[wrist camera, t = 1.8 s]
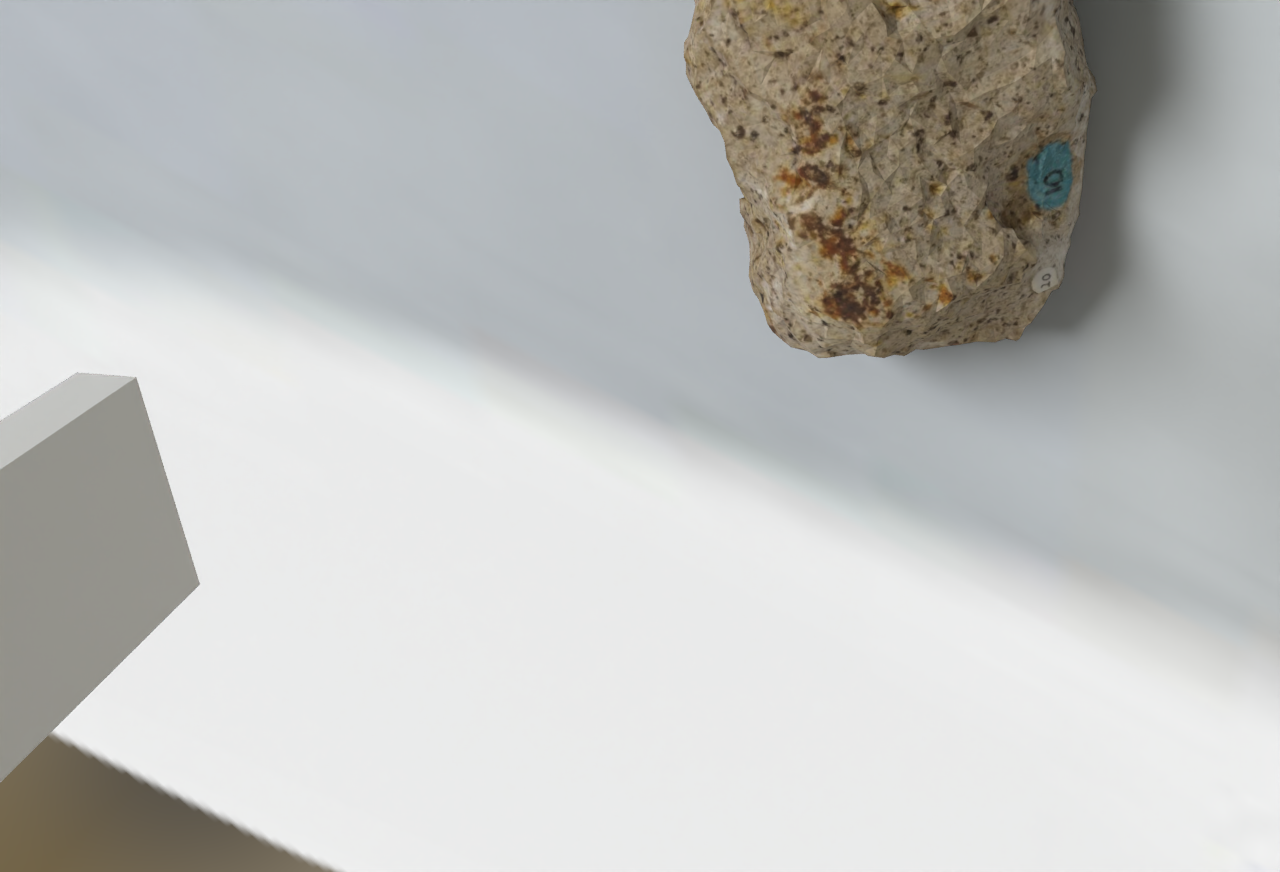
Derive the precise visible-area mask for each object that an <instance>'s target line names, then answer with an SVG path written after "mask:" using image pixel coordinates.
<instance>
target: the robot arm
mask: <svg viewBox="0 0 1280 872" xmlns="http://www.w3.org/2000/svg"><path fill="white" fill-rule="evenodd" d="M199 585H200V583H199V580H198V577H197V574H196V570H195V567H194V564H193V561H192V557H191V554H190V551H189V548H188V544H187V541H186V538H185V534H184V531H183V528H182V525H181V521H180V518H179V515H178V512H177V508H176V505H175V502H174V499H173V495H172V492H171V489H170V486H169V482H168V479H167V476H166V473H165V469H164V466H163V463H162V460H161V456H160V453H159V450H158V447H157V443H156V440H155V437H154V434H153V430H152V427H151V424H150V421H149V417H148V414H147V411H146V408H145V404H144V401H143V398H142V395H141V391H140V388H139V385H138V382H137V378H136V377H127V376H114V375H102V374H89V373H76V374H74V375H73V376H71V377H69V378H68V379H66V380H65V381H63V382H61V383H60V384H58V385H57V386H55V387H54V388H52V389H50V390H49V391H47V392H46V393H44V394H42V395H41V396H39V397H38V398H36V399H35V400H33V401H31V402H30V403H28V404H27V405H25V406H23V407H22V408H20V409H19V410H17V411H16V412H14V413H12V414H11V415H9V416H8V417H6V418H4V419H3V420H1V421H0V782H1V781H2V780H3V779H4V778H5V777H6V776H7V775H8V774H9V773H10V772H11V771H12V770H13V769H14V768H15V767H16V766H17V765H18V764H19V763H20V762H21V761H22V760H23V759H24V758H25V757H26V756H27V755H28V754H29V753H30V752H31V751H32V750H33V749H34V748H35V747H36V746H37V745H38V744H39V743H40V742H41V741H42V740H43V739H44V738H45V737H47V736H48V735H49V734H50V733H51V732H52V731H53V730H54V729H55V728H56V727H57V726H58V725H59V724H60V723H61V722H62V721H63V720H64V719H65V718H66V717H67V716H68V715H69V714H70V713H71V712H72V711H73V710H74V709H75V708H76V707H77V706H78V705H79V704H80V703H81V702H82V701H83V700H84V699H85V698H86V697H87V696H88V695H89V694H90V693H91V692H92V691H93V690H94V689H95V688H96V687H97V686H98V685H99V684H100V683H101V682H102V681H103V680H104V679H105V678H106V677H107V676H108V675H109V674H110V673H111V672H112V671H113V670H114V669H115V668H116V667H117V666H118V665H119V664H120V663H121V662H122V661H123V660H124V659H125V658H126V657H127V656H128V655H129V654H130V653H131V652H132V651H133V650H134V649H135V648H136V647H137V646H138V645H139V644H140V643H141V642H142V641H143V640H144V639H145V638H146V637H147V636H148V635H149V634H150V633H151V632H152V631H153V630H154V629H155V628H156V627H157V626H158V625H159V624H160V623H161V622H162V621H163V620H164V619H165V618H166V617H167V616H168V615H169V614H170V613H171V612H172V611H173V610H174V609H175V608H176V607H177V606H178V605H180V604H181V603H182V602H183V601H184V600H185V599H186V598H187V597H188V596H189V595H190V594H191V593H192V592H193V591H194V590H195V589H196V588H197V587H198V586H199Z"/></svg>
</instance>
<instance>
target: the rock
mask: <svg viewBox="0 0 1280 872" xmlns="http://www.w3.org/2000/svg"><path fill="white" fill-rule="evenodd" d="M694 1H695V4H696V6H695V10H694V15H693V20H692V24H691V28H690V32H689V35H688V38H687V39H686V41H685V42H684V58H685V61H686V75H687V77H688V79H689V81H690V84H691V86H692V88H693V90H694V92H695V94H696V95H697V97H698V99H699V100H700V102H701V104H702V105H703V107H704V108H705V110H706V112H707V114H708V116H709V118H710V120H711V122H712V123H713V124H714V125H715V126H716V127H717V128H718V129H719V130H720V132H721V134H722V137H723V139H724V142H725V148H726V157H727V160H728V162H729V164H730V166H731V168H732V170H733V173H734V177H735V180H736V183H737V185H738V186H739V187H740V189H741V191H742V193H743V195H744V198H741V199H740V213H741V215H742V217H743V218H744V228H745V231H746V234H747V237H748V240H749V245H750V266H749V278H750V282H751V286H752V289H753V291H754V293H755V295H756V296H757V298H758V299H759V301H760V303H761V306H762V308H763V311H764V313H765V317H766V320H767V323H768V325H769V327H770V328H771V330H772V331H773V332H774V333H775V334H776V335H777V336H778V337H779V338H781V339H782V340H783V341H784V342H785V343H787V344H788V345H789V346H790V347H793V348H797V349H801V350H806V351H808V352H810V353H812V354H813V355H815V356H816V357H818V358H828V357H835V356H842V355H849V354H866V355H868V356H873V357H882V358H885V357H888V356H891V355H902V356H905V355H907V354H909V353H910V352H912V351H914V350H915V349H923V350H924V349H931V348H938V347H944V346H951V345H960V344H965V343H971V342H976V341H980V342H997V341H1000V340H1003V339H1005V338H1006V339H1010V340H1014V341H1017V340H1018V339H1020V337H1021V335H1022V333H1023V331H1024V329H1025V327H1026V326H1027V325H1029V324H1030V323H1031V322H1032V321H1033V319H1034V318H1035V317H1036V315H1037V314H1038V313H1039V311H1040V310H1041V308H1042V307H1043V305H1044V304H1045V302H1046V300H1047V299H1048V297H1049V295H1050V293H1051V292H1052V291H1053V290H1056V289H1058V288H1059V287H1060V285H1061V282H1062V280H1063V278H1064V267H1065V257H1066V255H1067V252H1068V250H1069V247H1070V244H1071V234H1072V231H1073V228H1074V226H1075V223H1076V221H1077V219H1078V217H1079V214H1080V212H1079V205H1080V198H1081V191H1082V182H1083V172H1084V155H1085V148H1086V141H1087V126H1088V120H1089V112H1090V105H1091V99H1092V97H1093V95H1094V94H1095V93H1096V92H1097V87H1096V82H1095V77H1094V76H1093V74H1092V73H1091V71H1090V70H1089V68H1088V66H1087V63H1086V57H1085V51H1084V43H1083V37H1082V32H1081V26H1080V20H1079V17H1078V15H1077V11H1076V8H1075V7H1074V5H1073V0H694Z"/></svg>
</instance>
